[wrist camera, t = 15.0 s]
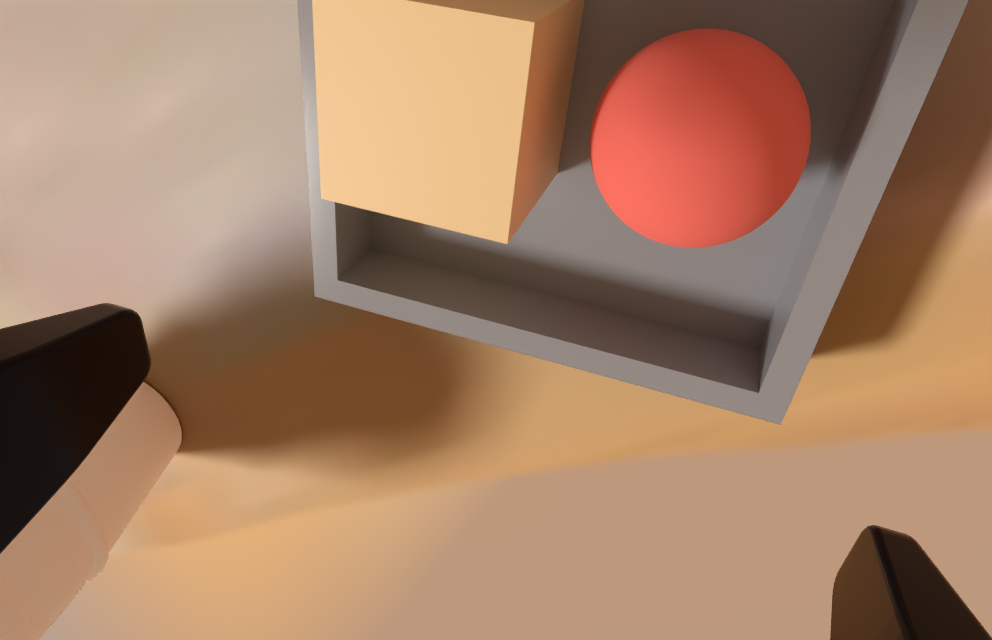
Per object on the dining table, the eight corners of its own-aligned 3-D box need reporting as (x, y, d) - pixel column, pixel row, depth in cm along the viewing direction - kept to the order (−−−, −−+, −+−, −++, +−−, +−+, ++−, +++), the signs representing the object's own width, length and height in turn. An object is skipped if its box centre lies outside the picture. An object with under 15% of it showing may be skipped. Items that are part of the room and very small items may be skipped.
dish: (359, 255, 20) (314, 296, 18) (351, -277, 14) (279, -304, 12) (778, 363, 18) (780, 424, 16) (1020, -221, 11) (1077, -244, 9)
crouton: (403, 139, 17) (320, 198, 14) (407, -38, 15) (310, -17, 12) (557, 173, 16) (507, 243, 13) (586, -10, 14) (534, 23, 11)
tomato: (593, 181, 16) (554, 256, 13) (628, -3, 14) (591, 32, 11) (767, 219, 16) (771, 307, 12) (834, 29, 13) (860, 78, 10)
